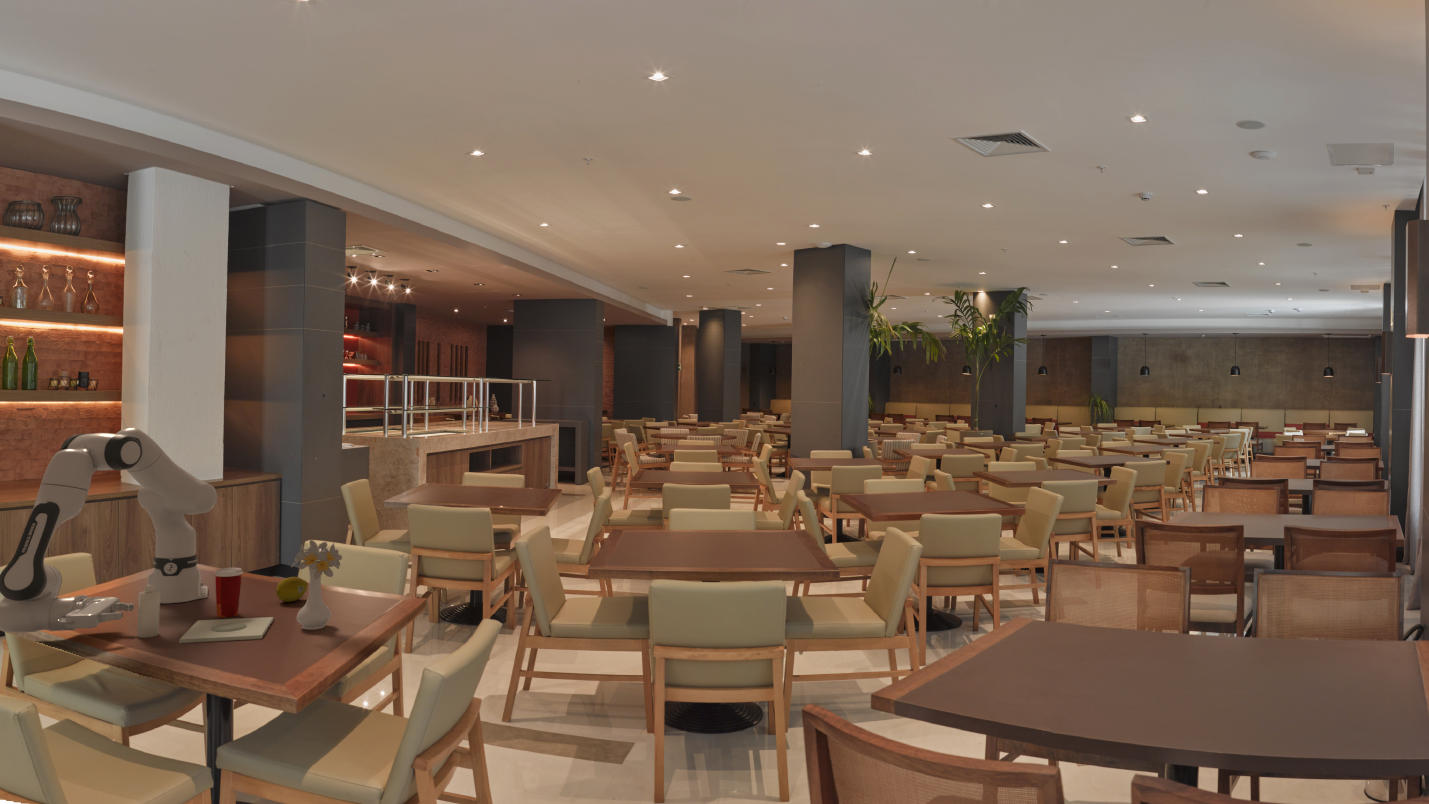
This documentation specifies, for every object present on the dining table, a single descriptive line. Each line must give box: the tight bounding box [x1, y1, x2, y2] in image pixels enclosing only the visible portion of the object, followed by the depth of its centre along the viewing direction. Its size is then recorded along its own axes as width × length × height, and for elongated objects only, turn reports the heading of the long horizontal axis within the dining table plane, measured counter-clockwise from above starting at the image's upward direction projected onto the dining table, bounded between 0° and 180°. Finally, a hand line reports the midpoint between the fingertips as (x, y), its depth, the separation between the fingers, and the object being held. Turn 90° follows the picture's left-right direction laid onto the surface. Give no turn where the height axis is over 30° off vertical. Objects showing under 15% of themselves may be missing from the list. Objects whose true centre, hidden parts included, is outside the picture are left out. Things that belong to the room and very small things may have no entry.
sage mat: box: [179, 616, 274, 644], centre depth 245 cm, size 20×20×1 cm
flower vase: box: [290, 539, 343, 631], centre depth 252 cm, size 13×18×25 cm
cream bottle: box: [136, 584, 161, 639], centre depth 239 cm, size 5×5×14 cm
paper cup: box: [214, 567, 244, 618], centre depth 262 cm, size 8×8×14 cm
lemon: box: [275, 576, 309, 603], centre depth 281 cm, size 11×8×8 cm
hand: (127, 611), depth 237 cm, fingers open, 8 cm apart
